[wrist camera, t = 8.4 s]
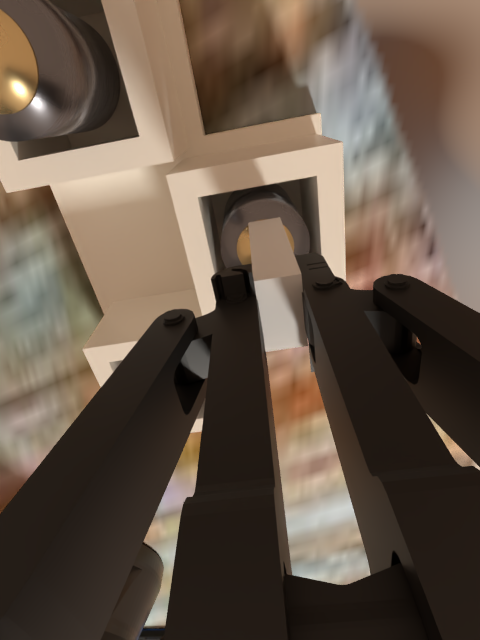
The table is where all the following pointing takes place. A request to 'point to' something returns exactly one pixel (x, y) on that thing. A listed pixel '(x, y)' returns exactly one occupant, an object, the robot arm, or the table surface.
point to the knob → (52, 73)
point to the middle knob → (256, 208)
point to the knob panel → (167, 180)
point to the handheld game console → (151, 634)
